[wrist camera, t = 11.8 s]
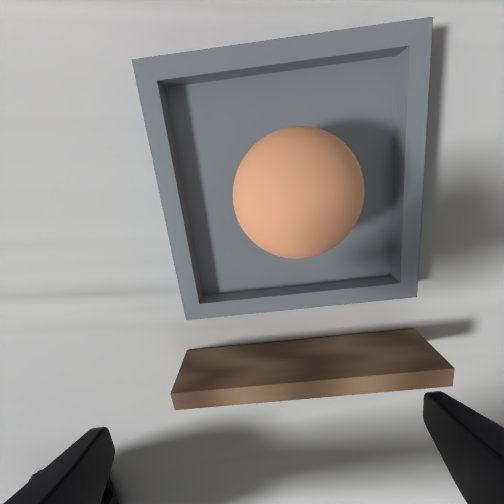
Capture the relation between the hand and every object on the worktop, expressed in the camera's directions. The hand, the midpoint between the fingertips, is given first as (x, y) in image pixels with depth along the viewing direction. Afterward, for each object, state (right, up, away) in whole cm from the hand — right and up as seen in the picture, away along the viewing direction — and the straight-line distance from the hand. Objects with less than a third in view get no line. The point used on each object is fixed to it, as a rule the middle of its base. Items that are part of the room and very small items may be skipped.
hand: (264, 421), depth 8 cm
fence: (+3, -2, +12) cm, 12 cm away
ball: (+2, +7, +5) cm, 9 cm away
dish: (+2, +9, +9) cm, 12 cm away
